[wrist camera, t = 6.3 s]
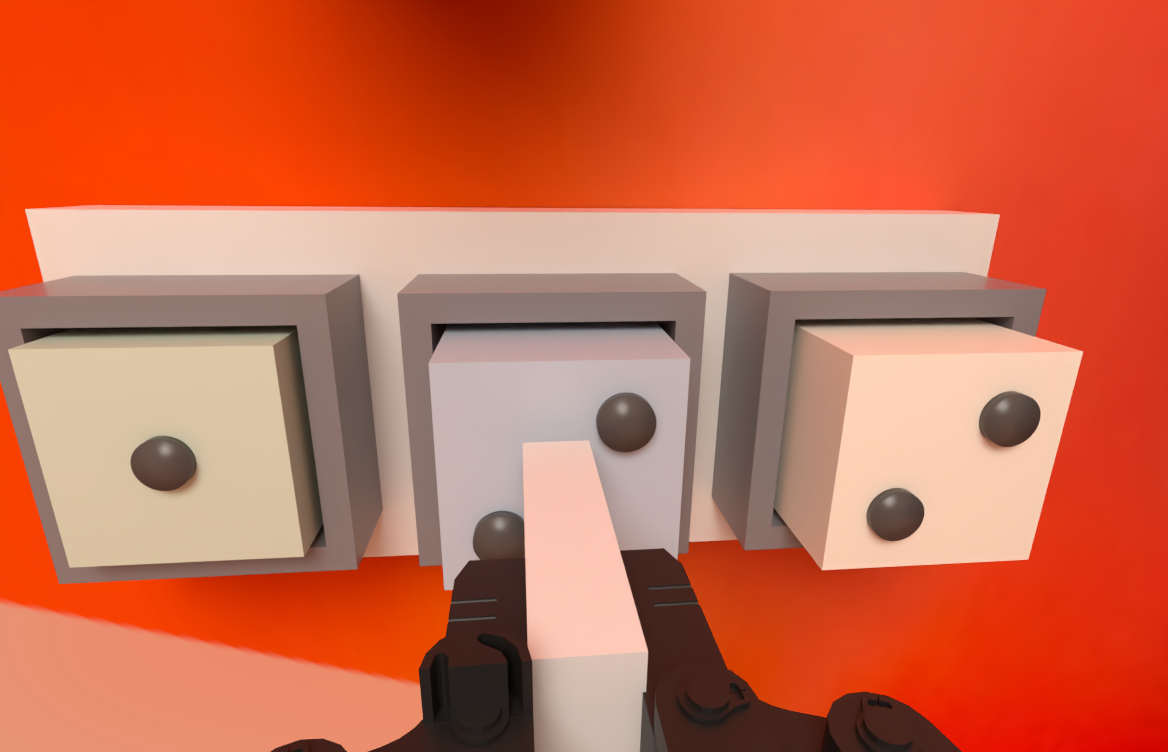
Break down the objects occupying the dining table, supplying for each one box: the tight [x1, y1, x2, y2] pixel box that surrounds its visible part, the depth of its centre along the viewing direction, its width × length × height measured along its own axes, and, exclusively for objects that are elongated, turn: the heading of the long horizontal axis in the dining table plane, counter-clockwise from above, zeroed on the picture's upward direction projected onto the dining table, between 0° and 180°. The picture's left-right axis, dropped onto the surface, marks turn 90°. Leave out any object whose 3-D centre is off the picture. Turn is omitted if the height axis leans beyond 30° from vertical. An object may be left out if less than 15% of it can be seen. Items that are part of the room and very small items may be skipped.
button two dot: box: [774, 318, 1083, 570], centre depth 18 cm, size 6×6×4 cm
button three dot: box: [429, 321, 690, 590], centre depth 17 cm, size 6×6×4 cm
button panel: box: [0, 205, 1046, 584], centre depth 21 cm, size 30×12×6 cm, turn 90°
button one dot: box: [8, 325, 323, 568], centre depth 17 cm, size 6×6×4 cm
